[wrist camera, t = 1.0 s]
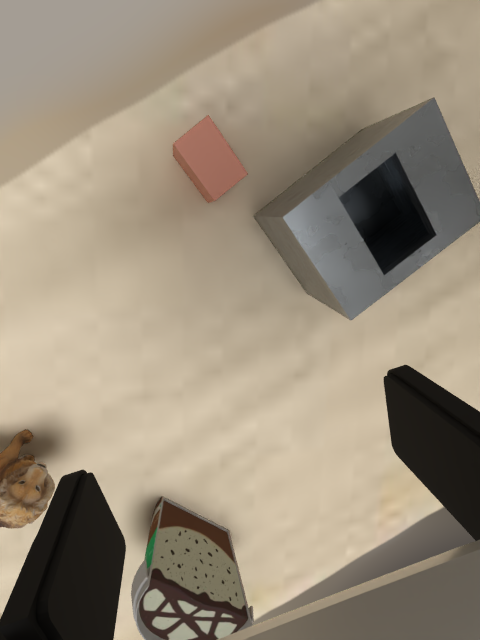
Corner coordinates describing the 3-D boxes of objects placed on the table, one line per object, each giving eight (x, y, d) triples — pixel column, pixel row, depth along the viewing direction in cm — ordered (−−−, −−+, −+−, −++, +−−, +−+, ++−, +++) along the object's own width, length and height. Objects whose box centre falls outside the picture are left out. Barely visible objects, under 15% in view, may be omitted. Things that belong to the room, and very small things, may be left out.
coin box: (362, 129, 31) (434, 97, 22) (407, 215, 34) (486, 216, 25) (253, 216, 31) (282, 217, 23) (307, 293, 34) (350, 320, 26)
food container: (116, 530, 38) (97, 635, 29) (150, 490, 38) (142, 583, 28) (205, 570, 42) (214, 674, 33) (238, 535, 41) (257, 630, 32)
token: (202, 132, 29) (208, 114, 23) (235, 180, 30) (248, 174, 25) (173, 156, 29) (173, 143, 24) (207, 202, 30) (214, 200, 25)
